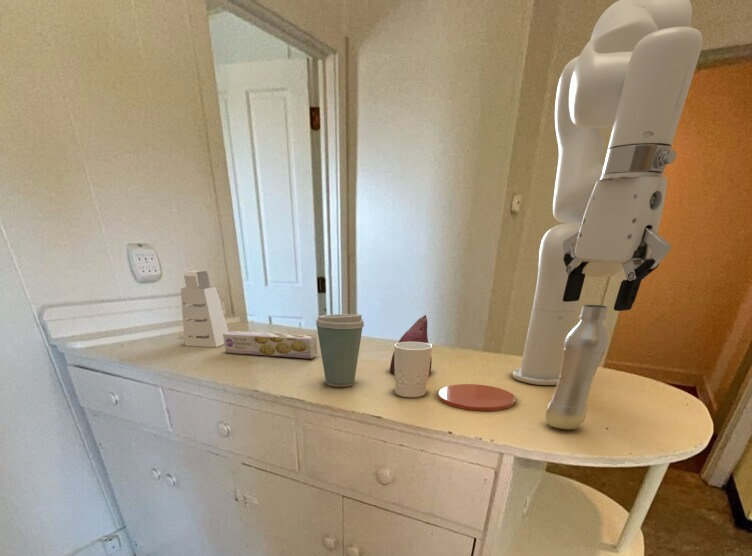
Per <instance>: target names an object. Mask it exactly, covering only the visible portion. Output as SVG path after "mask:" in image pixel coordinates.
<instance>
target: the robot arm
mask: <svg viewBox="0 0 752 556" xmlns="http://www.w3.org/2000/svg"><path fill="white" fill-rule="evenodd" d="M692 18H693V7H692V3H691V1H690V0H617V1H615V2H614V3H612V4H611V5H609V7H607V8H606V9H605V10H604V11H603V12H602V14H601V15H600V17H599V18H598V20H597V21H596V23H595V25H594V27H593V30H592V32H591V37H590V40H589V41H588V42H587V43H586V45H585V46H584V47H583V49H582V51H581V52H580V54H579V55H578V56H576V57H574V58H573V59H570V61H569V62H568V63H567V64H566V65H565V66H564V68H563V69H562V71H561V74H560V77H559V80H558V84H557V87H556V93H555V94H556V95H555V104H554V126H555V127H554V128H555V133H556V134H555V136H556V141H557V146H558V147H557V148H558V161H557V168H556V177H555V182H554V192H553V200H552V214H553V218H554V219H555V221H557V222H559V223H561V224H557V225H554V226H552V227H551V228H549V229H548V230H547V231H546V232H545V234H544V235H543V236H542V239H541V241H540V245H539V253H538V267H537V279H536V280H537V281H536V286H535V291H534V292H535V293H534V299H533V303H532V309H531V314H530V319H529V324H528V327H527V328H528V329H527V334H526V339H525V344H524V348H523V354H522V358H521V362H520V363H521V364H520V367H519V368H516V369H514V370H513V371H512V374H511V375H512V378H513V379H515V380H517V381H518V382H522V383H525V384H531V385H538V386H556V385H557V383H558V379H559V375H560V370H561V365H562V357H563V348H564V342H565V339H566V337H567V335H568V334H569V333H570V331H571V330H572V329H573V328H574V324H575V320H576V317H577V314H578V313H577V312H578V309H579V303H580V298H581V295H582V294H581V293H582V290H583V286H584V283H585V279H586V278H610V277H614V276H616V275H618V274H620V273H621V272H622V271H624V273H625V274H624V275H625V276H626V277H625V278H626V279H623V280H622V281H621V282H620V285H619V289H618V292H617V295H616V299H615V302H614V305H613V310H614V311H616V312H622V311H630V310H631V309H632V308H633V305H634V303H635V301H636V299H637V295H638V292H639V290H640V286H641V283H642V281H644V280H646V279H647V277H648V275H650V274H651V273H652V272H653V271H655V270H656V269H658V267H659V266H660V263H661V262H662V261H663V260H664V258H665V257H666V256H667V254H668V253H669V252H670V250H671V248H672V244H671V243H670V242H668V241H667V240H666V239H665V238H664V237H663V236H662V235H660V234H659V233H658V232H659V228H660V223H661V220H662V215H663V211H664V206H665V201H666V195H667V185H668V177H665V176H663V173H664V172H665V169H666V166H667V165H671V164H673V163H674V161H675V160H676V156H677V152H676V150H674V149H673V150H672V145H673V142H674V139H675V137H676V136H675V135H676V132H677V129H678V127H679V122H680V119H681V116H682V113H683V110H684V107H685V103H686V100H687V97H688V93H689V90H690V88H691V85H692V81H693V77H694V75H695V71H696V68H697V64H698V61H699V59H700V54H701V51H702V47H703V35H702V32H701V31H700V30H699V29H697V28H695V27H691V25H692ZM607 128H612V130H611V134H610V138H609V141H608V146H607V151H606V155H605V158H604V153H605V140H604V137H603V135H602V133H601V130H600V129H607ZM603 159H604V162H603Z"/></svg>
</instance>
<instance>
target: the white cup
mask: <svg viewBox="0 0 752 556" xmlns="http://www.w3.org/2000/svg"><path fill="white" fill-rule="evenodd" d="M393 346H394V348H393V349H394V350H393V353H394V369H395V371H394V374H393V375H394V393H395V394H396V395H397V396H400V397H403V398H420V397H423V396H425V395H426V391H427V385H428V381H429V375H430V374H429V369H430V361H431V358H432V354H433V353H432V352H433V345H432V344H431V343H429V344H428V343H423V342H400V343H398V342H396V343H395V344H394V345H393Z"/></svg>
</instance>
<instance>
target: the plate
mask: <svg viewBox="0 0 752 556" xmlns="http://www.w3.org/2000/svg"><path fill="white" fill-rule="evenodd" d="M437 396H438V399H439V400H440V401H441V402H442V403H443V404H446V405H447V406H451V407H454V408H458V409H461V410H462V409H463V410H466V411H467V410H468V411H477V412H478V411H479V412H493V411H494V412H495V411H501V410H506V409H509V408H511V407H513V406H514V405H515V402H516V396H515V395H514V394H513V393H512V392H510V391H508V390H506V389H503V388H500V387H496V386H492V385H486V384H475V383H461V384H459V383H458V384H452V385H448V386H444V387H442V388H441V389H440V390H439V391H438V395H437Z"/></svg>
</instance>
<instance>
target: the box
mask: <svg viewBox="0 0 752 556" xmlns="http://www.w3.org/2000/svg"><path fill="white" fill-rule="evenodd" d="M223 338H224V348H225V353H227V354H241V355H255V356H267V357H269V356H270V357H271V356H272V357H284V358H298V359H309V360H310V359H312V358H314V357H316V356H318V355H319V352H318V339H317V338H318V337H317V335H310V334H297V333H296V334H295V333H276V332H257V331H256V332H255V331H240V330H239V331H237V330H232V331H229V332H228V333H224V334H223Z"/></svg>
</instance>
